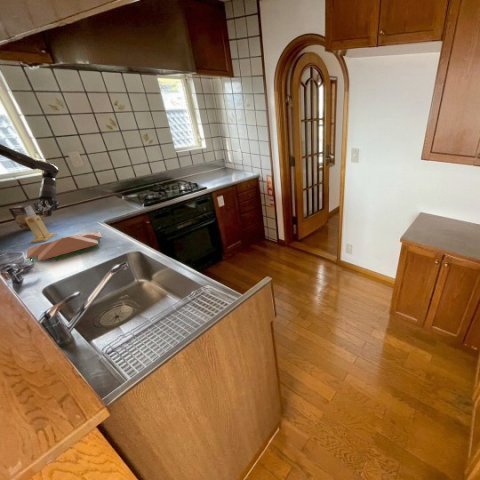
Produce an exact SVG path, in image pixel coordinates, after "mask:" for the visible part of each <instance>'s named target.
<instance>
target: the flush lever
mask: <svg viewBox="0 0 480 480" xmlns="http://www.w3.org/2000/svg"><path fill="white" fill-rule="evenodd" d="M32 218H33V217H32ZM32 218H30V219H29V221H30V222H34V221H33V219H32ZM40 218H41V219H42V218H50V217H49V216H47V211H44V212H43V213H42V215H41V216H40Z"/></svg>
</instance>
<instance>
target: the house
mask: <svg viewBox="0 0 480 480" xmlns="http://www.w3.org/2000/svg"><path fill="white" fill-rule="evenodd" d="M102 238H103V236H102V234H101V232H94V231H91V232H85V233H81V234H80V233H79V234H74V235H69V236H65V237H62V238H58V239H54V240H53V241H49V242H44V243H41V244H38V245H35V246H31V247H29V248H27V252H26V260H28V259H29V260H30V261H31V259H32V257H33V258H34V259H33V261H34V262H35V260H36V259H37V262H41V261H45V260H48V259H51V258H54V259H55V261H56V262H58V261H60V256H62V257H61V258H62V259H61V261H62V260H66V259H67V257H69V256H68V255H70V253H71V257H74V256H75V254H77V255H82V254H83V255H84V249H85V251H88V252H91V248H90V247H92V248H93V249H95V251H96V250H98V249H100V247H99V243H100V242H101V239H102ZM95 246H96V247H97V248H95ZM89 250H90V251H89ZM36 256H37V257H36ZM33 261H32V262H33Z"/></svg>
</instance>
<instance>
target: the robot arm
mask: <svg viewBox="0 0 480 480" xmlns="http://www.w3.org/2000/svg"><path fill="white" fill-rule="evenodd" d="M0 156H2V157H4V158H6V159H8V160H9V161H12V162H14V163H16V164H18V165H21V166H23V167H25V168H28V169H30V170H34V171H35V170H40V171H41V184H40V187H39V193H38V199H39V200H38V201H37V202H32V204H33V207H34V210H35V211H37V212H38V215H39V216H41V215H42V213H43V212H45V210H46V209H47V210H46V212H47V216H49V217H48V218H50V217H51V216H52V213H53V211H56V210H57V209H58V207H59V205H60V202H59V201H57V200H56V195H57V180H56V179H57V176H58V174H59V172H60V170H59V168H58V166H57V165H55V164H52V163H49V162H46V161H43V160H38V159H36V158H35V157H31V156H29V155H27V154H24V153H22V152H20V151H17V150H14V149H12V148H10V147H8V146H6V145H3V144H2V143H0Z"/></svg>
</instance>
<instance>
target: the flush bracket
mask: <svg viewBox="0 0 480 480" xmlns="http://www.w3.org/2000/svg"><path fill="white" fill-rule="evenodd" d="M30 218H32V216H29V217H27V218H25V221H26V222H27V224H28V226H29V227H30V229H29V230H31V233H32V234H33V235H34V237H35V238H33V239H31V240H30V243H43V242H47V241H49V240H50V239H52V238H53V237H54V236H56V235H57V232H49V230H48V228H47V226H46V225H45V223H44V222H43V220H42V218H40V216H39V214H37V215H36V216H35V217H33V218H32V219H33V221H34V222H30V221H29V219H30Z"/></svg>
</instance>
